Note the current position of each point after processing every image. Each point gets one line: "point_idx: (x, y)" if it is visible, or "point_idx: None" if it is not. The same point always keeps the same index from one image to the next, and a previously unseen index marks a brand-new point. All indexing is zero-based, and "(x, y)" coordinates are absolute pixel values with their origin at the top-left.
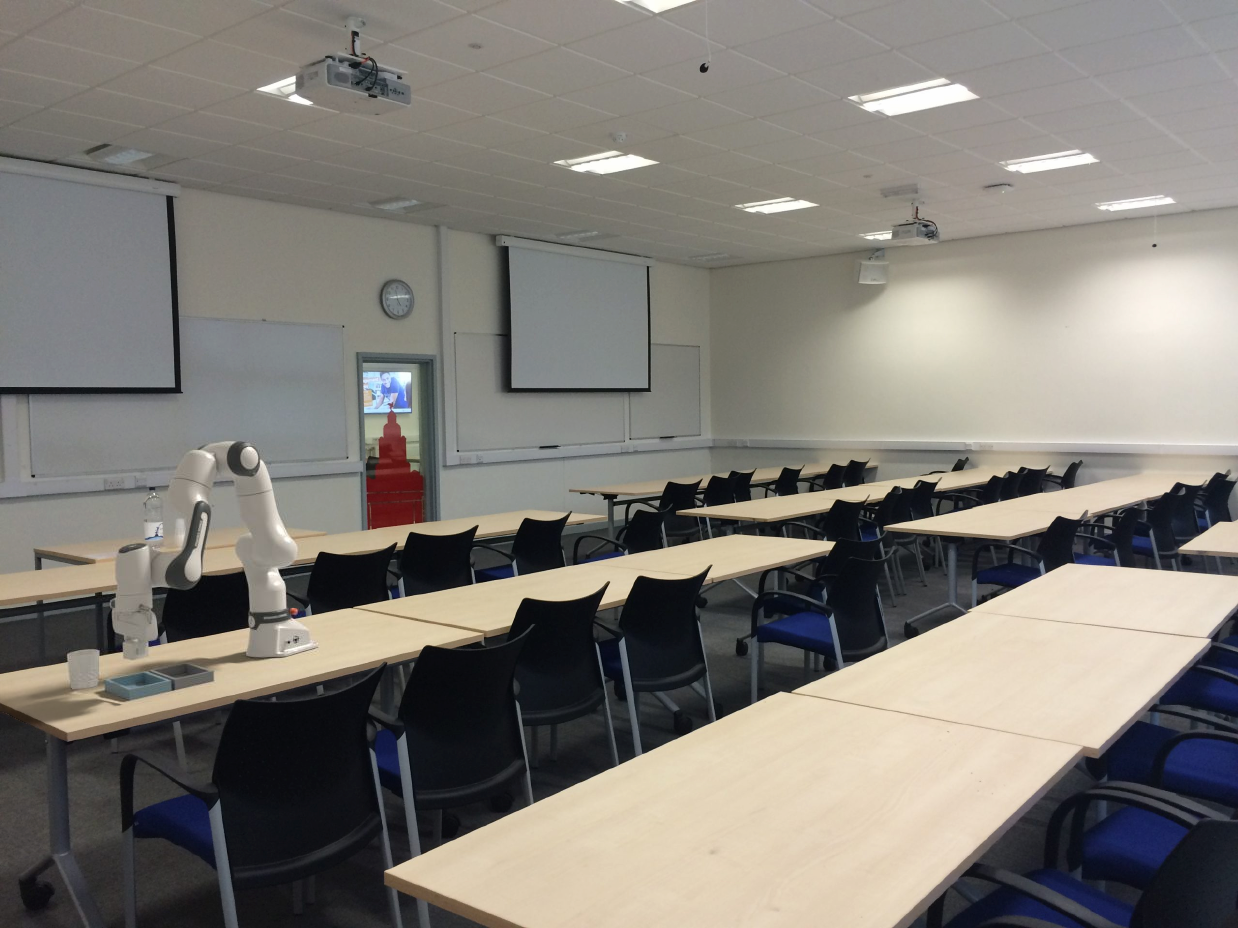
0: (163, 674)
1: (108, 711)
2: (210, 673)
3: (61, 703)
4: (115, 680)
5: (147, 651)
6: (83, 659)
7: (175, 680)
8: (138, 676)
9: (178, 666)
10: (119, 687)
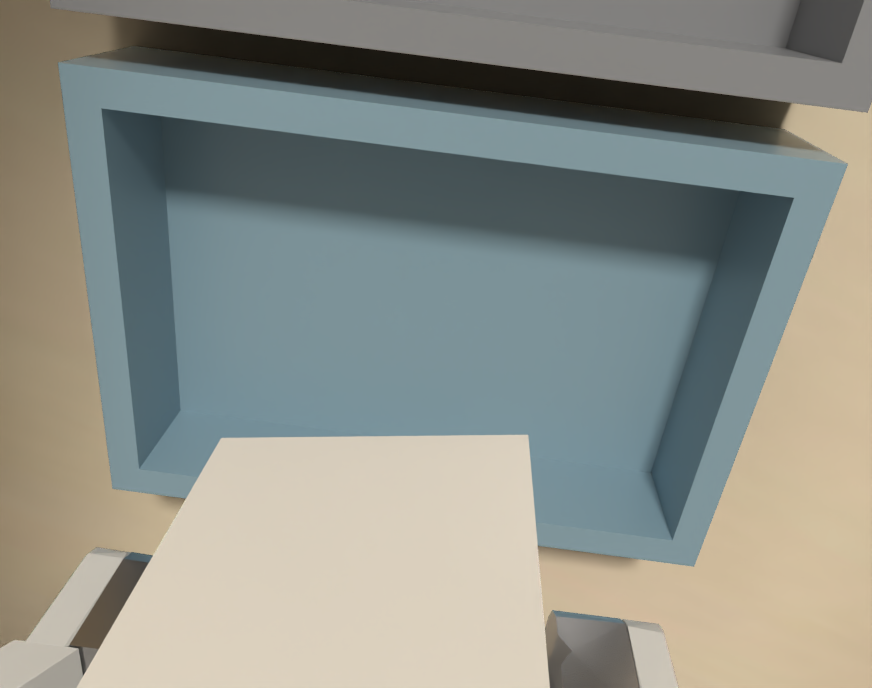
0: (454, 28)
1: (710, 642)
2: None
3: None
4: (143, 401)
5: (531, 518)
6: None
7: (861, 99)
8: (129, 170)
9: None
10: None
